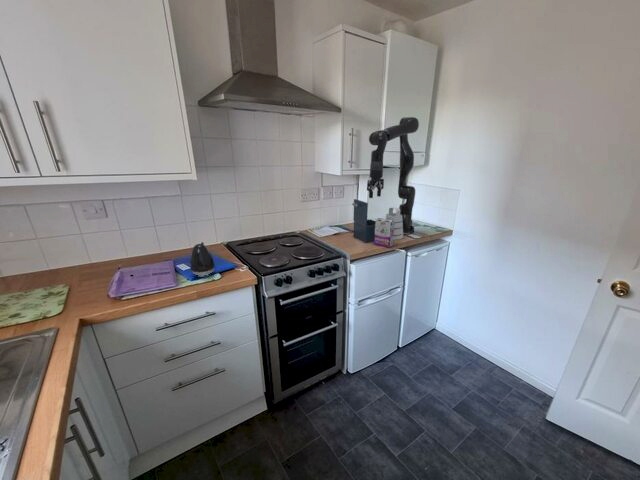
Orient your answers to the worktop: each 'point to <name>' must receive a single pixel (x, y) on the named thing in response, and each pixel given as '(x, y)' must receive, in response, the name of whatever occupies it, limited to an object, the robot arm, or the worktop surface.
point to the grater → (396, 222)
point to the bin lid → (360, 212)
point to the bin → (365, 231)
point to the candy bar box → (384, 232)
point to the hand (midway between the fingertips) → (374, 197)
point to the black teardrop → (201, 261)
